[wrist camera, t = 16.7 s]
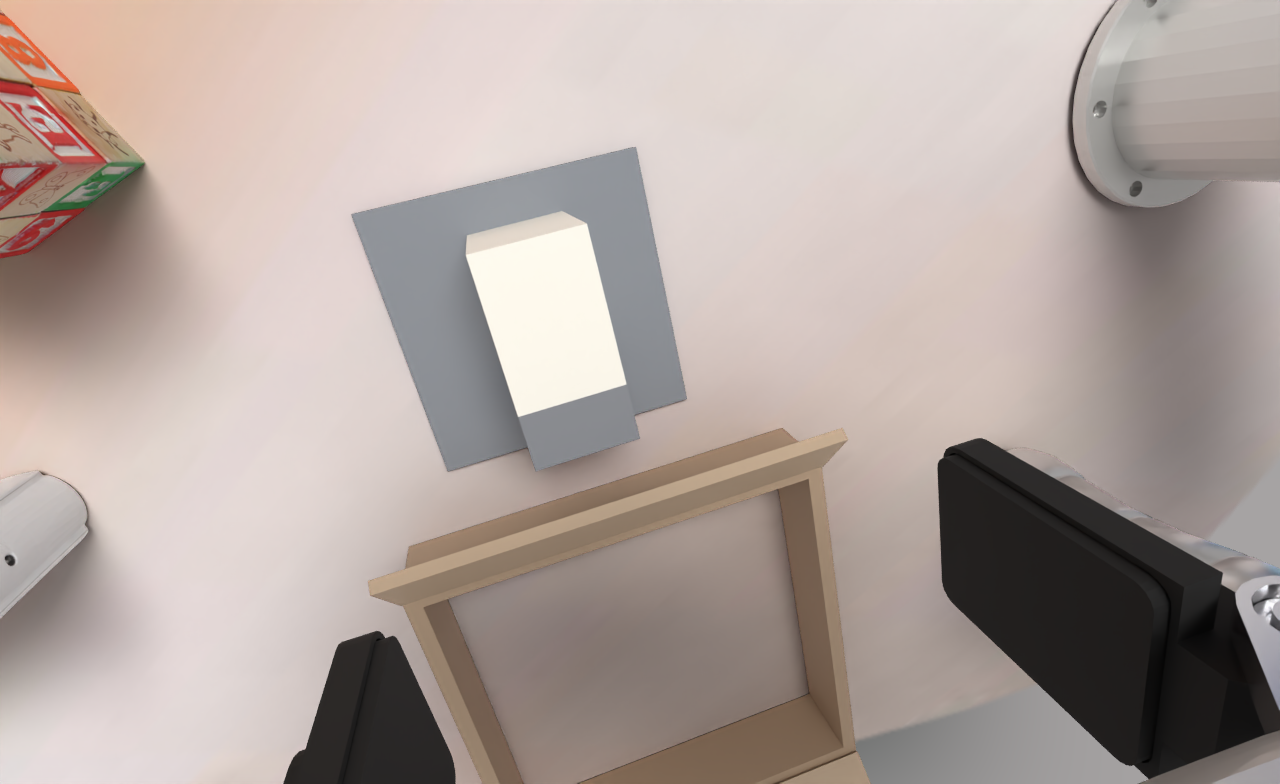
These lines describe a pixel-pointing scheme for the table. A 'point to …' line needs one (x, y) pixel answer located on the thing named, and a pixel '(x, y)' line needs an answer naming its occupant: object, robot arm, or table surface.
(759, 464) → the carton
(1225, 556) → the plastic bottle
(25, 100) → the stack of blocks
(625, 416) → the box
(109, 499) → the table surface
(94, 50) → the table surface
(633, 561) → the table surface
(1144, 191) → the robot arm
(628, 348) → the mat
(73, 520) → the photo printer
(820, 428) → the table surface
